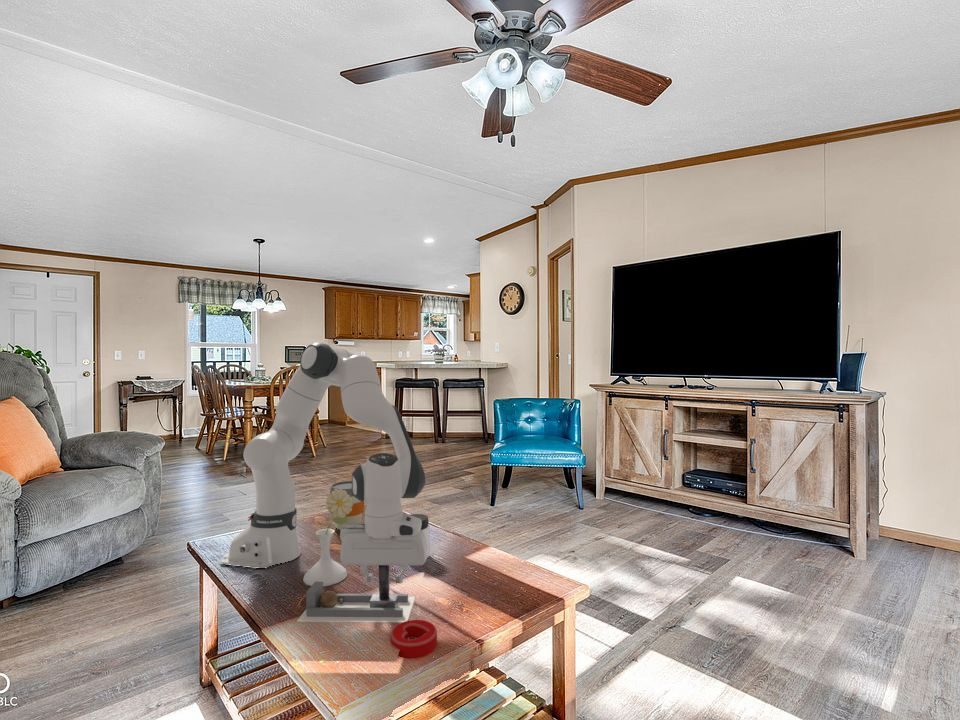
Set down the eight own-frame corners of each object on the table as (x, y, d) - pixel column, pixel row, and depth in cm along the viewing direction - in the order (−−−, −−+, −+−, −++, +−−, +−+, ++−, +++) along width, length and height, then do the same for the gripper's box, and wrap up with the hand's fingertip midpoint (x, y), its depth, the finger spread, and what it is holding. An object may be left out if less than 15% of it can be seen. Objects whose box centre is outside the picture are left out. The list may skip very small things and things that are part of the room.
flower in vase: (306, 596, 125) (305, 498, 125) (300, 578, 135) (299, 488, 135) (357, 585, 131) (357, 491, 131) (348, 569, 141) (347, 482, 141)
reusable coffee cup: (323, 531, 173) (323, 488, 173) (339, 519, 185) (339, 480, 185) (357, 532, 171) (357, 490, 171) (371, 521, 183) (370, 481, 183)
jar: (434, 558, 148) (434, 518, 148) (411, 565, 143) (411, 524, 143) (418, 549, 155) (418, 511, 155) (396, 556, 150) (396, 517, 150)
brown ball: (317, 612, 114) (317, 595, 114) (323, 603, 118) (323, 587, 118) (334, 612, 113) (334, 595, 113) (339, 604, 117) (339, 587, 117)
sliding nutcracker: (296, 628, 110) (296, 599, 110) (315, 601, 122) (315, 575, 122) (407, 628, 109) (407, 599, 109) (415, 602, 121) (415, 576, 121)
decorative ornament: (443, 651, 101) (443, 636, 101) (399, 665, 96) (399, 649, 96) (427, 628, 109) (427, 614, 109) (385, 640, 105) (385, 625, 105)
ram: (369, 611, 114) (369, 566, 114) (373, 604, 117) (372, 560, 117) (395, 611, 113) (395, 566, 113) (398, 604, 117) (397, 560, 117)
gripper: (335, 528, 112) (336, 588, 112) (424, 528, 112) (424, 588, 112) (344, 519, 119) (344, 576, 119) (427, 519, 118) (428, 576, 118)
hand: (384, 582), depth 115 cm, fingers open, 6 cm apart
